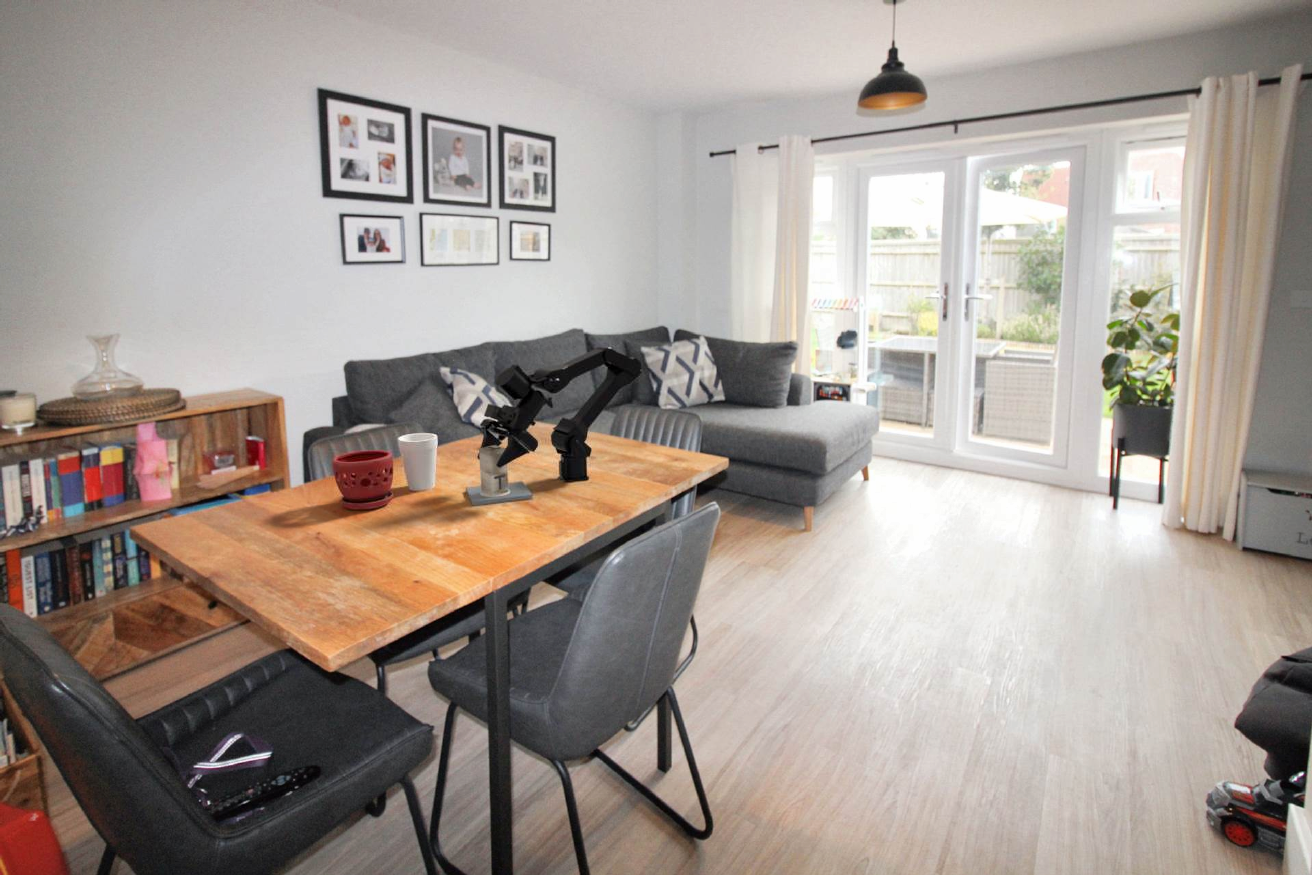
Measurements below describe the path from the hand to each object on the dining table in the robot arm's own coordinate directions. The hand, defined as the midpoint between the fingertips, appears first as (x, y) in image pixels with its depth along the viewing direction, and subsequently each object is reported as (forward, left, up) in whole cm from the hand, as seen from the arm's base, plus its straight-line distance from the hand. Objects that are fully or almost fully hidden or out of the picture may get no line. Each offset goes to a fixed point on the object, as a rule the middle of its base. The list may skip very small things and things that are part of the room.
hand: (488, 462), depth 178 cm
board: (-2, -1, -9) cm, 9 cm away
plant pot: (+28, -6, -9) cm, 30 cm away
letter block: (-1, 0, -8) cm, 8 cm away
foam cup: (+15, -15, -9) cm, 23 cm away
